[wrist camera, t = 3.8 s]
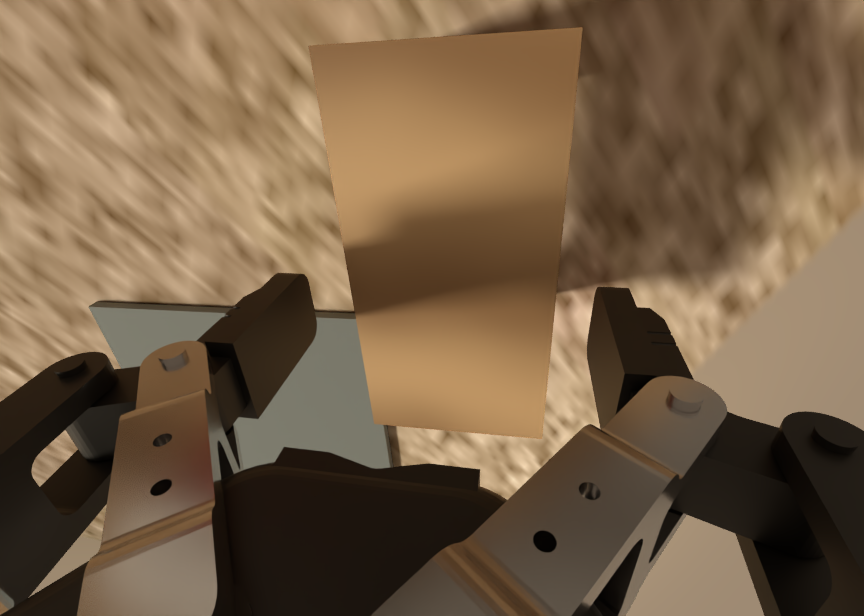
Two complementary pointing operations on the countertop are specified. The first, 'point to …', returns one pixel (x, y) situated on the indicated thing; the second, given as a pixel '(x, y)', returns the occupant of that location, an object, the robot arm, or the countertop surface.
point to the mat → (298, 396)
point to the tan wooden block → (452, 217)
